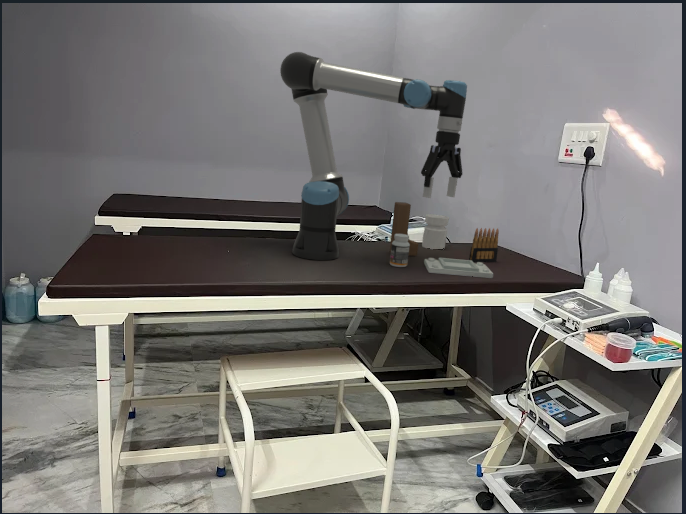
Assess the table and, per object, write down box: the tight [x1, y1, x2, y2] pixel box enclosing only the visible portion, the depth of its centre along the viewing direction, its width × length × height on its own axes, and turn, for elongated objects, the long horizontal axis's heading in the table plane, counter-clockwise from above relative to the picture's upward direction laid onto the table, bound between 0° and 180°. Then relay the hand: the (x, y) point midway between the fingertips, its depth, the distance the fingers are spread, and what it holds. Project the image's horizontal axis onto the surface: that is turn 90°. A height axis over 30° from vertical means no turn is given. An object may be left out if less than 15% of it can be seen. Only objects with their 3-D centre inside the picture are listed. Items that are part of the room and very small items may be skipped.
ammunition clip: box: [468, 227, 499, 263], centre depth 193 cm, size 11×2×12 cm, turn 114°
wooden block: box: [388, 201, 419, 257], centre depth 193 cm, size 9×4×18 cm, turn 104°
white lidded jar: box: [421, 213, 450, 250], centre depth 210 cm, size 9×9×12 cm
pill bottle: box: [389, 234, 410, 268], centre depth 177 cm, size 6×6×10 cm
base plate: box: [423, 257, 494, 279], centre depth 178 cm, size 20×12×2 cm, turn 89°
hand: (438, 197), depth 183 cm, fingers open, 13 cm apart
